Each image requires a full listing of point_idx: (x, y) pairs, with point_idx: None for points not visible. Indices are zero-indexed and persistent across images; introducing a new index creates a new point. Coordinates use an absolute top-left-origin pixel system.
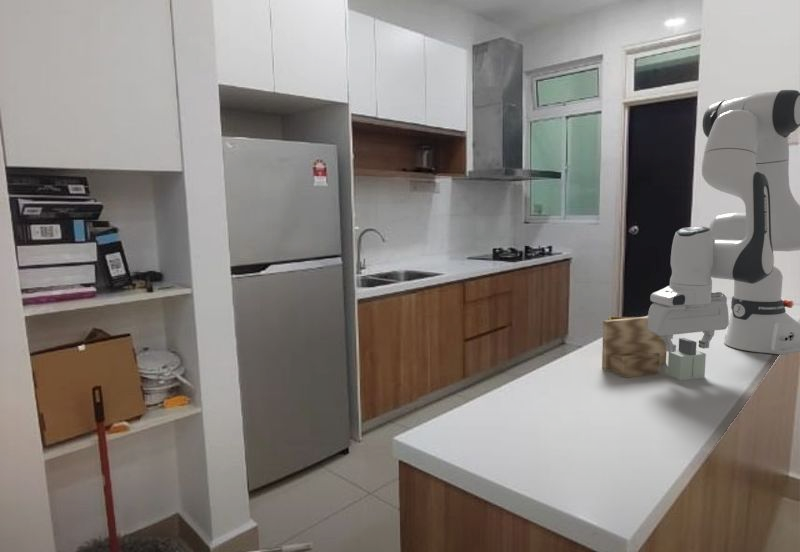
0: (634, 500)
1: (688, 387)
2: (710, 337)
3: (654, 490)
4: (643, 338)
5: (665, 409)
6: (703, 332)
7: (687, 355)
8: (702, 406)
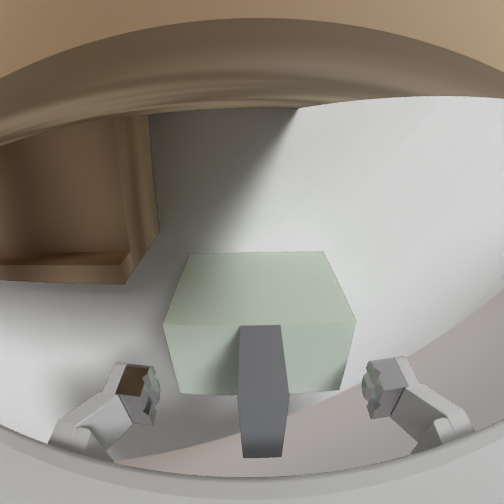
0: None
1: None
2: (413, 434)
3: None
4: (55, 122)
5: None
6: (432, 427)
7: (226, 392)
8: (146, 431)
